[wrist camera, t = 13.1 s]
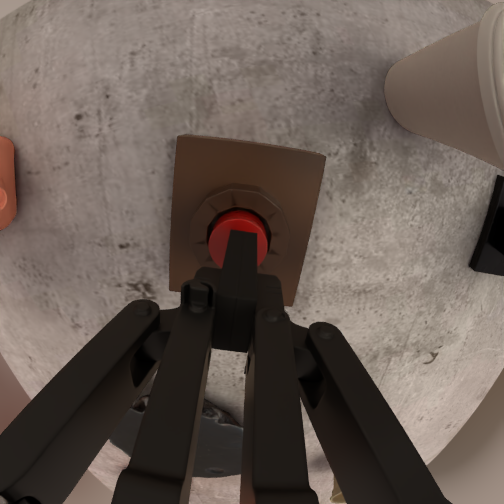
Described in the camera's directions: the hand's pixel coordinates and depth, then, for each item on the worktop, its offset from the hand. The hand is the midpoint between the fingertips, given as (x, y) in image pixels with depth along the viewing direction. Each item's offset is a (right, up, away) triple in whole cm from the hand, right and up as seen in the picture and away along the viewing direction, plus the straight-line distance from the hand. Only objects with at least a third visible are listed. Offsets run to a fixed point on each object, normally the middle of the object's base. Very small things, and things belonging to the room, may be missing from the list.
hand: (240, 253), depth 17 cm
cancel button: (0, +1, +3) cm, 3 cm away
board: (-8, -23, +18) cm, 30 cm away
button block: (0, +3, +6) cm, 7 cm away
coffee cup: (+14, +13, +2) cm, 19 cm away
